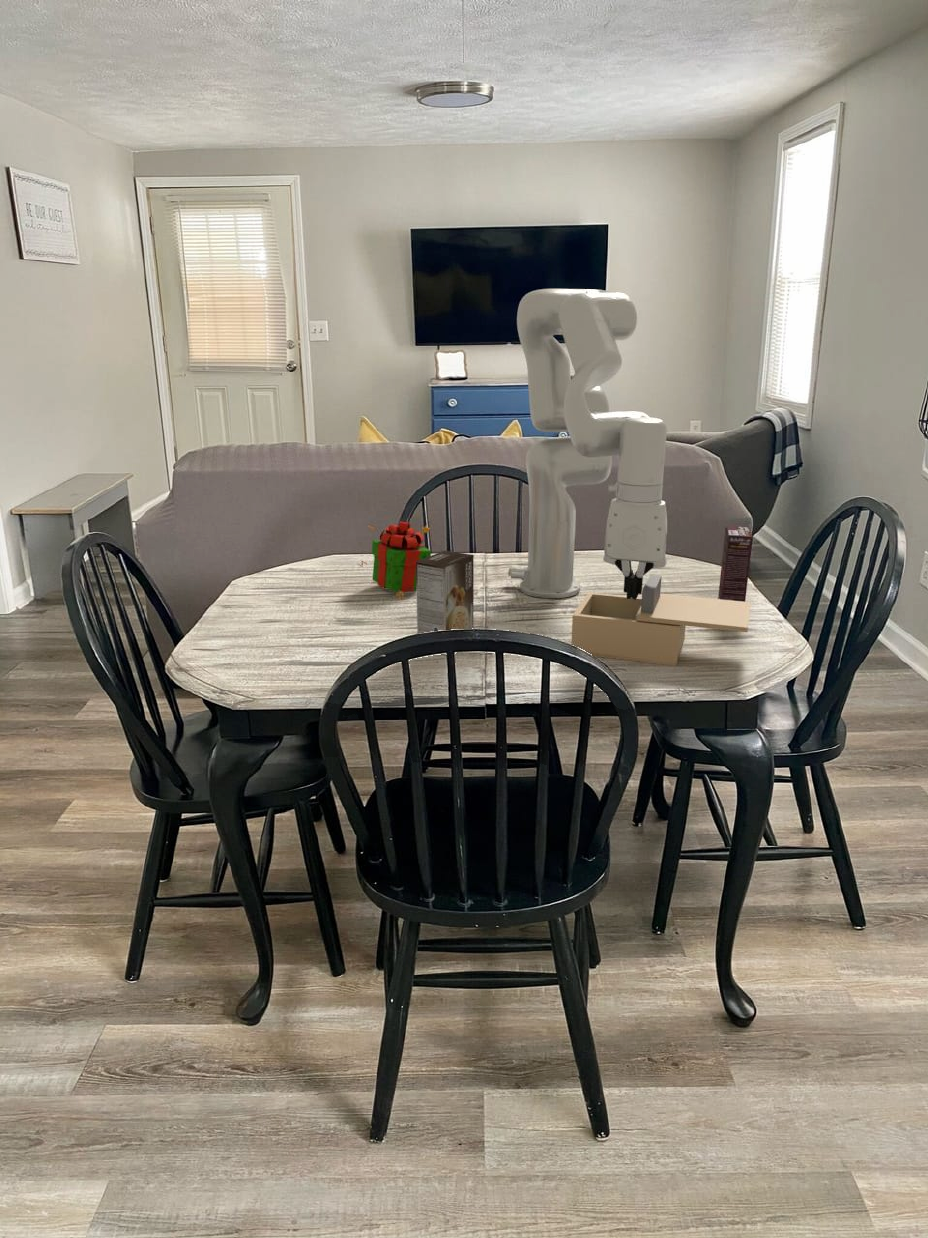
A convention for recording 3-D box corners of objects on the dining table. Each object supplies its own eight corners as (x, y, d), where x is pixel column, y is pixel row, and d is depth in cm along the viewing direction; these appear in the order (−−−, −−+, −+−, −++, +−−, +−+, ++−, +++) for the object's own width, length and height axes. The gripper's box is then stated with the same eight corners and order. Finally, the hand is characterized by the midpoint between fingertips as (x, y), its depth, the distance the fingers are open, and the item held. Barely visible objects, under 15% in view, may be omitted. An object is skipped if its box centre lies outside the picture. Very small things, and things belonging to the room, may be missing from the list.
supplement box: (744, 616, 181) (753, 536, 175) (719, 614, 182) (727, 535, 176) (741, 602, 189) (749, 526, 183) (717, 601, 190) (724, 525, 184)
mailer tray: (570, 653, 161) (572, 615, 159) (586, 627, 174) (588, 592, 171) (676, 666, 156) (679, 626, 153) (684, 638, 168) (687, 602, 166)
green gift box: (453, 598, 197) (462, 532, 192) (376, 604, 186) (383, 534, 182) (405, 571, 212) (412, 509, 207) (331, 574, 201) (337, 510, 197)
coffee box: (444, 634, 170) (444, 549, 165) (474, 640, 167) (475, 554, 162) (416, 649, 163) (414, 560, 157) (446, 656, 160) (446, 566, 154)
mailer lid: (635, 620, 155) (637, 593, 154) (647, 596, 168) (648, 571, 166) (747, 632, 150) (750, 604, 149) (750, 606, 163) (753, 580, 161)
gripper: (591, 494, 154) (585, 599, 160) (682, 500, 150) (673, 607, 156) (599, 486, 161) (593, 587, 167) (686, 491, 157) (678, 595, 163)
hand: (632, 596), depth 162 cm, fingers closed
